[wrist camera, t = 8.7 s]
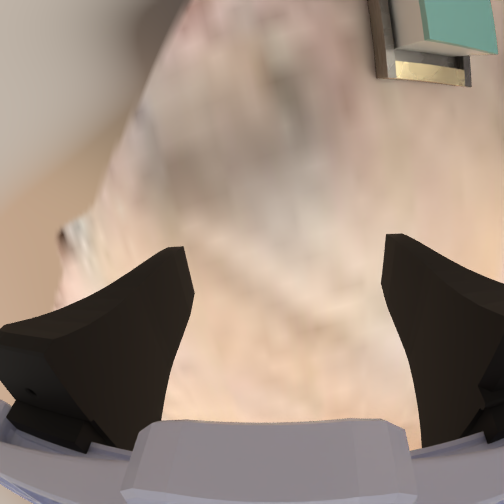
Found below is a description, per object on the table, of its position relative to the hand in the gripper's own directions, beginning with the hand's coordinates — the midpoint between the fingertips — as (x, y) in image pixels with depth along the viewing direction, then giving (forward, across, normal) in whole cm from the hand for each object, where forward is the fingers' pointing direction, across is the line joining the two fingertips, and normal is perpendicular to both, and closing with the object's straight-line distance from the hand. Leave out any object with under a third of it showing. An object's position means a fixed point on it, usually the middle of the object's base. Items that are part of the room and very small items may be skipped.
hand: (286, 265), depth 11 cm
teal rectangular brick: (+9, -9, -12) cm, 18 cm away
